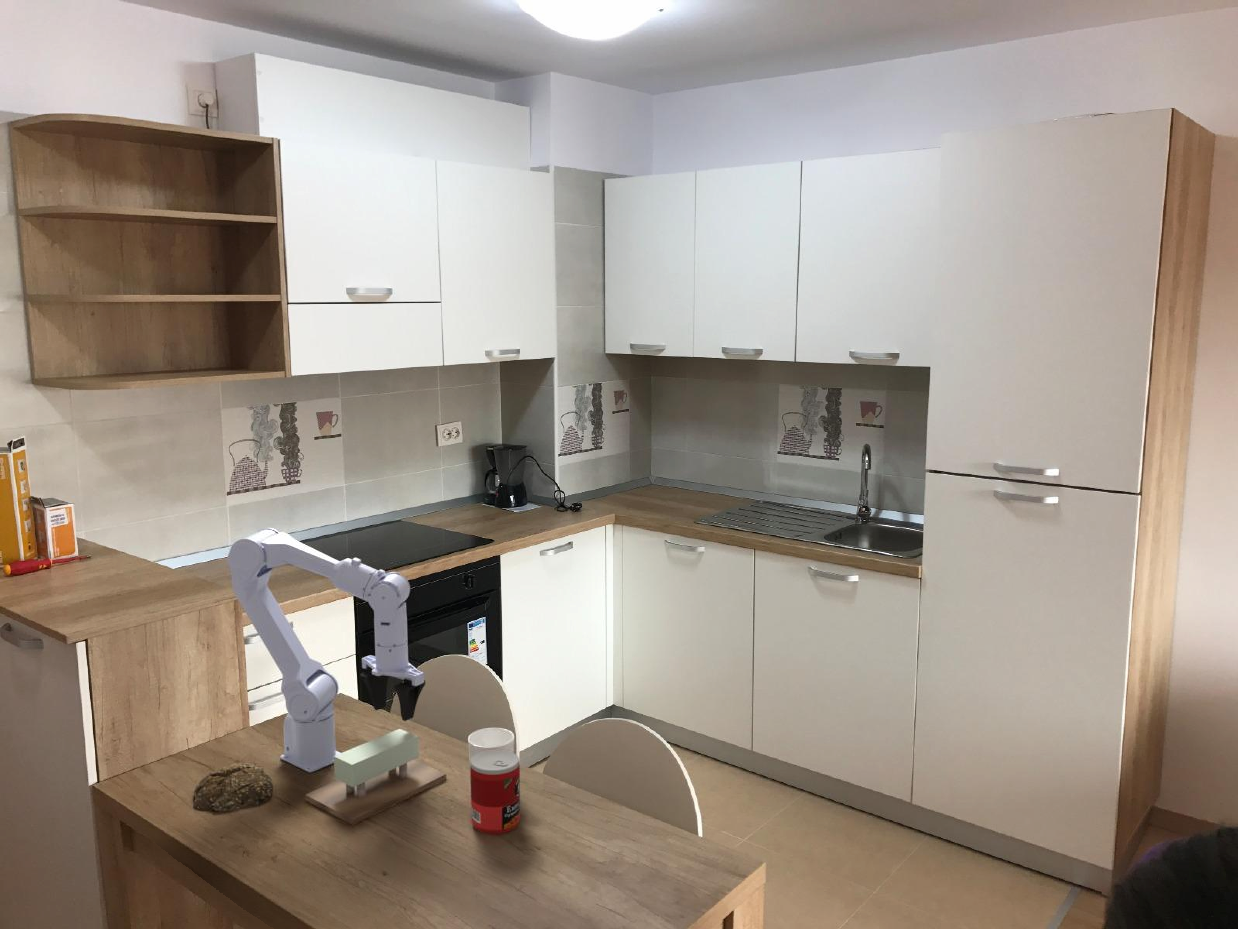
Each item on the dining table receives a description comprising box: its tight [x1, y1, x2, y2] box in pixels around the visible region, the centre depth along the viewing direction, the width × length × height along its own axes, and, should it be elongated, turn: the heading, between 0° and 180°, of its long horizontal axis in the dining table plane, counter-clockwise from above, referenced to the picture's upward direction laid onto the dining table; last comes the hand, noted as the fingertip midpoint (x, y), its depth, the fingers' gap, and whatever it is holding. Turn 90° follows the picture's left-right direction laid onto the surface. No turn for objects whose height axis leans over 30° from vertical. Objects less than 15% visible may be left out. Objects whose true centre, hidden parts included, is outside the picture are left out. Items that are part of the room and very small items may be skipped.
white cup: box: [467, 727, 515, 764], centre depth 170 cm, size 8×8×10 cm
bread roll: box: [193, 762, 274, 813], centre depth 169 cm, size 13×12×5 cm
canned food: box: [469, 750, 521, 835], centre depth 160 cm, size 8×8×11 cm
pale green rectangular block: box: [333, 728, 420, 787], centre depth 170 cm, size 14×5×4 cm, turn 142°
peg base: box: [304, 759, 447, 826], centre depth 171 cm, size 13×20×4 cm, turn 142°
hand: (393, 713), depth 179 cm, fingers open, 7 cm apart
